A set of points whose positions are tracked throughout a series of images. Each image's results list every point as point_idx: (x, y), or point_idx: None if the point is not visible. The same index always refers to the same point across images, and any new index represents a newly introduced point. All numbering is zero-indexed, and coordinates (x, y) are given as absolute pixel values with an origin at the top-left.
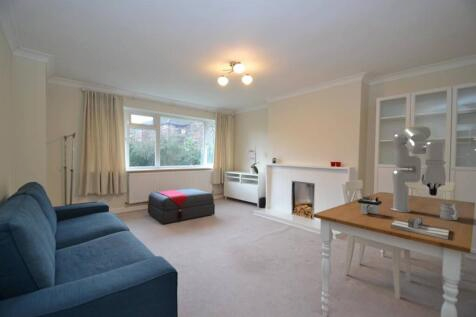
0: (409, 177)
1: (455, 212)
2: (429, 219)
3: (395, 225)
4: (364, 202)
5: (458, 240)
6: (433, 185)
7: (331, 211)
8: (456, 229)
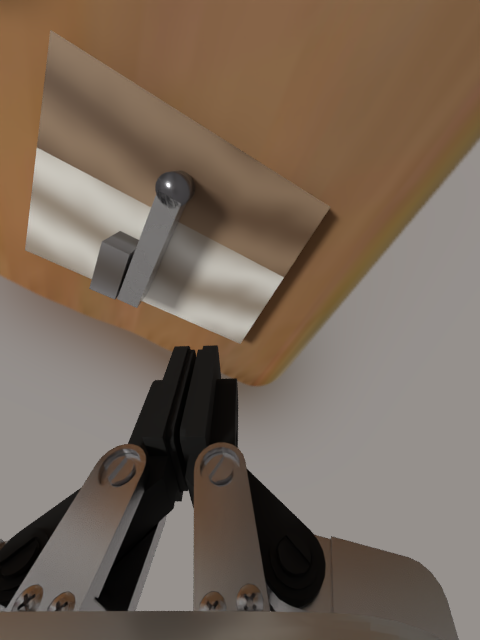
0: None
1: None
2: None
3: (49, 259)
4: None
5: (275, 334)
6: (194, 514)
7: None
8: (390, 155)
